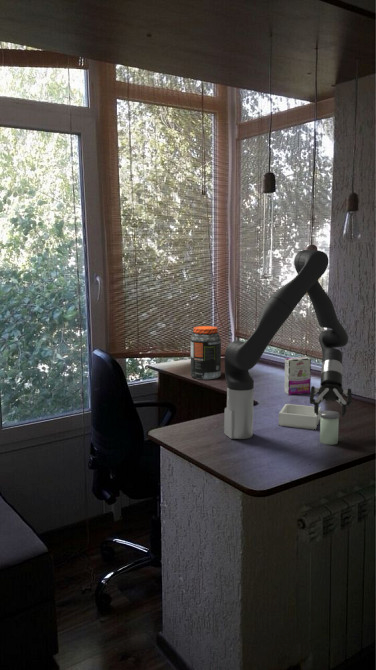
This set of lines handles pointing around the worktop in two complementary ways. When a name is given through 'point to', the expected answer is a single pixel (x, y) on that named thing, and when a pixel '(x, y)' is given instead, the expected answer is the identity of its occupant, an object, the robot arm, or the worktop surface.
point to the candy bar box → (297, 375)
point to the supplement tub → (205, 353)
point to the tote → (299, 416)
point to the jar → (329, 427)
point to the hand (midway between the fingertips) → (329, 414)
